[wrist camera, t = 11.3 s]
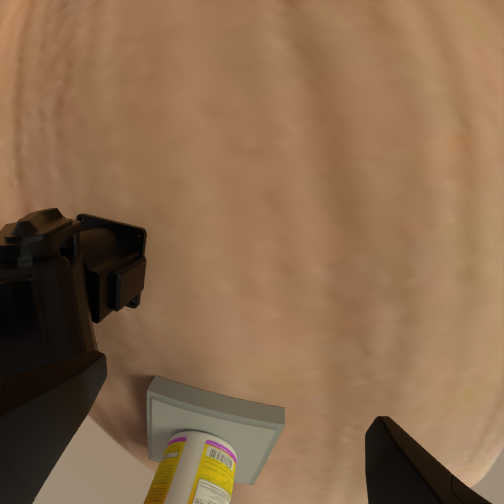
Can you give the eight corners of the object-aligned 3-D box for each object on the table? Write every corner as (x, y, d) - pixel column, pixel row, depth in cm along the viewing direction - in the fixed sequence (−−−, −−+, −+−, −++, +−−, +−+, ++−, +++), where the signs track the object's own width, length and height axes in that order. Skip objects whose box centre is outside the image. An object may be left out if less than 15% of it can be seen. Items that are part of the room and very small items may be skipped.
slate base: (154, 445, 27) (147, 460, 24) (155, 375, 24) (145, 392, 21) (254, 471, 26) (252, 487, 24) (284, 407, 23) (284, 427, 21)
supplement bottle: (173, 459, 24) (137, 555, 11) (166, 421, 22) (114, 534, 10) (237, 471, 23) (218, 575, 11) (240, 434, 22) (216, 563, 9)
